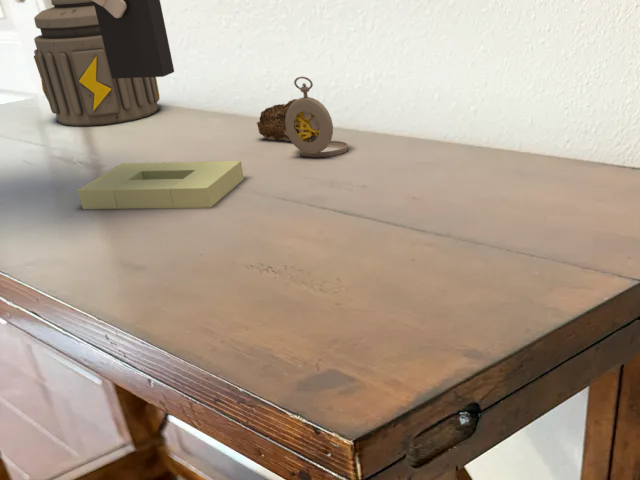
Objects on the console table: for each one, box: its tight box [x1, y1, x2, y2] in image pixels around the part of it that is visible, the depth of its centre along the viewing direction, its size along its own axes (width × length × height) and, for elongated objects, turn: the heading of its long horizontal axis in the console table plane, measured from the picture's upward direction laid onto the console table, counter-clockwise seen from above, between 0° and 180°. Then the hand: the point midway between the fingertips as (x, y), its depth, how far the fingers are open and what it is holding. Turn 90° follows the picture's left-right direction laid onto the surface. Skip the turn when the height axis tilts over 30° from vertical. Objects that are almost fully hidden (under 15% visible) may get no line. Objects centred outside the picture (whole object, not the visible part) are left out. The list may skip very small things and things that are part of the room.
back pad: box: [93, 0, 175, 79], centre depth 85 cm, size 6×3×11 cm, turn 80°
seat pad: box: [76, 160, 245, 210], centre depth 98 cm, size 16×12×2 cm
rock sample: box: [256, 98, 317, 142], centre depth 118 cm, size 10×8×9 cm
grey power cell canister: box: [33, 0, 161, 127], centre depth 135 cm, size 19×19×30 cm
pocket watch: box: [285, 76, 349, 158], centre depth 107 cm, size 8×8×10 cm
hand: (134, 9), depth 85 cm, fingers closed on back pad, 3 cm apart
